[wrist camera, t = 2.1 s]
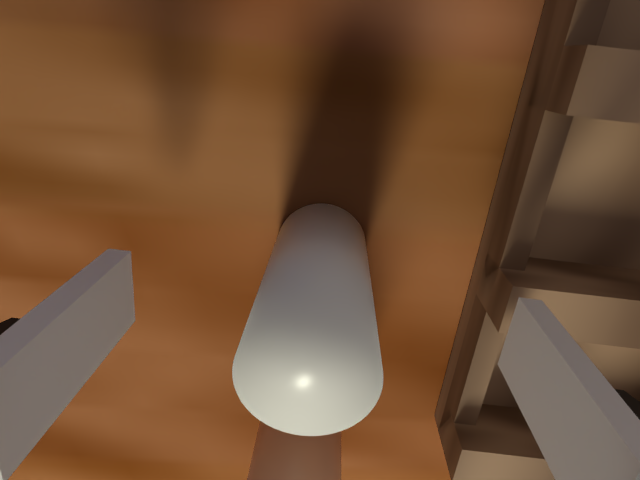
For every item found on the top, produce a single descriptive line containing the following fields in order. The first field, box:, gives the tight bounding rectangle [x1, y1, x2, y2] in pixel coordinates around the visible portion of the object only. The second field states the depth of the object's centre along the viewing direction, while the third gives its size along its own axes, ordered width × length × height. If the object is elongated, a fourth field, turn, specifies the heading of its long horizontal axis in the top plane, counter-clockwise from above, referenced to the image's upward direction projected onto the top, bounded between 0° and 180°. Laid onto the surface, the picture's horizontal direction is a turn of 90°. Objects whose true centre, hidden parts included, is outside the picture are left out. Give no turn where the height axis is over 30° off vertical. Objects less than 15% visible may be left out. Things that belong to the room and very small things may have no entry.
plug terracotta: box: [247, 421, 341, 480], centre depth 19 cm, size 4×4×9 cm
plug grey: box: [232, 203, 383, 436], centre depth 16 cm, size 4×4×9 cm
